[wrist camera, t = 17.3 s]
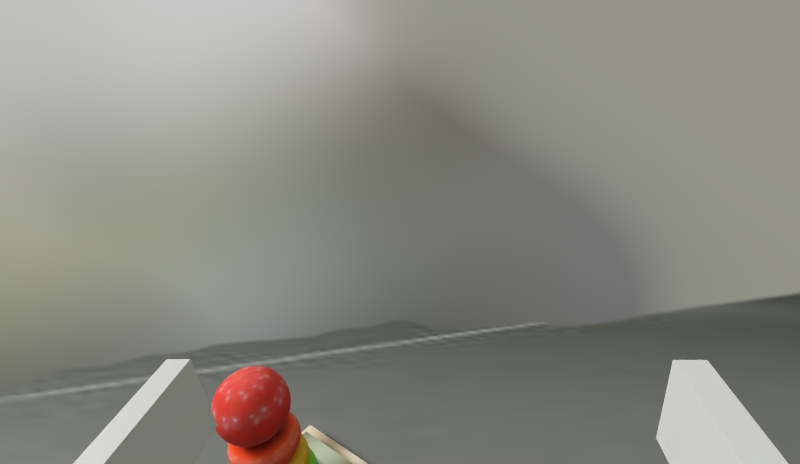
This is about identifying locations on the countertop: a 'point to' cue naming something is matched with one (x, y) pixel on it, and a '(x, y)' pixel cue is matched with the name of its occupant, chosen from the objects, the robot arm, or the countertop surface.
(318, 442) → the rimmed tray
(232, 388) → the stacking toy
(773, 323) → the countertop surface
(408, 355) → the countertop surface
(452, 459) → the countertop surface
